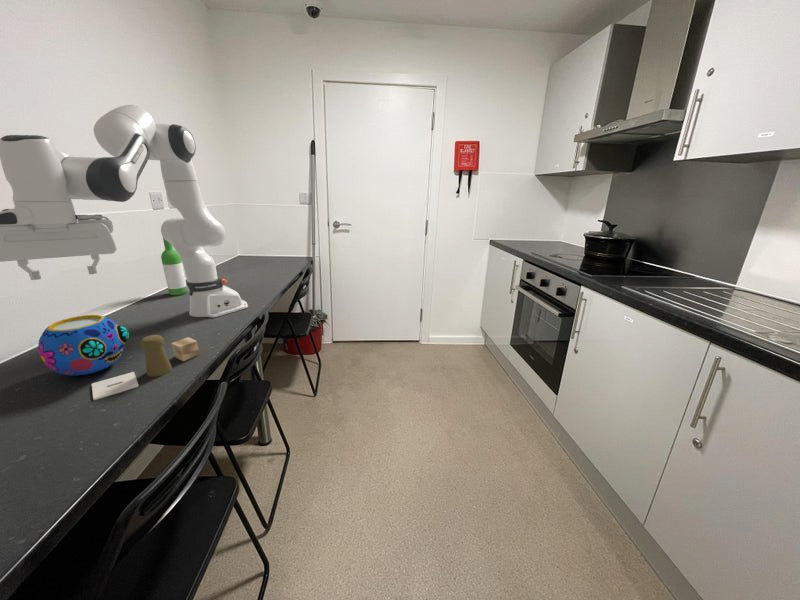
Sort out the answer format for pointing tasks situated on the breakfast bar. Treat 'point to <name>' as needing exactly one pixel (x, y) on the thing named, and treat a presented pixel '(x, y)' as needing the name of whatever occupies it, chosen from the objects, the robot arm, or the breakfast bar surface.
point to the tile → (114, 385)
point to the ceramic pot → (82, 344)
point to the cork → (155, 356)
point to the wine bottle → (173, 270)
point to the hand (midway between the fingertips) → (65, 276)
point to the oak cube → (185, 349)
